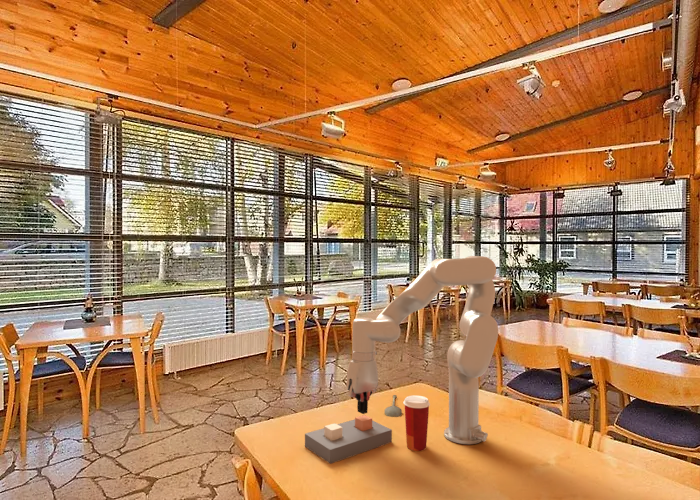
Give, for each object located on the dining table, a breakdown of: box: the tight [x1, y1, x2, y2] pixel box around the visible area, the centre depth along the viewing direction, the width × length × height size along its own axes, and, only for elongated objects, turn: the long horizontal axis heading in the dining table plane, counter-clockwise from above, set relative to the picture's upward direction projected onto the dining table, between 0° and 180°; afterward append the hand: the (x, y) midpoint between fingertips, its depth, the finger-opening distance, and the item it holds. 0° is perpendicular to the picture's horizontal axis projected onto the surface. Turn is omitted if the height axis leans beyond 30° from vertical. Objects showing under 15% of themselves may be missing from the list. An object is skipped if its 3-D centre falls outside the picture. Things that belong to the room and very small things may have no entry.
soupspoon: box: [384, 394, 403, 418], centre depth 173 cm, size 22×3×7 cm
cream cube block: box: [323, 423, 342, 441], centre depth 136 cm, size 4×4×4 cm
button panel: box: [304, 418, 393, 464], centre depth 139 cm, size 14×24×4 cm, turn 127°
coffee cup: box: [402, 395, 431, 452], centre depth 138 cm, size 8×8×15 cm
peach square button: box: [354, 414, 373, 431], centre depth 143 cm, size 4×4×4 cm
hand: (362, 412), depth 143 cm, fingers closed
